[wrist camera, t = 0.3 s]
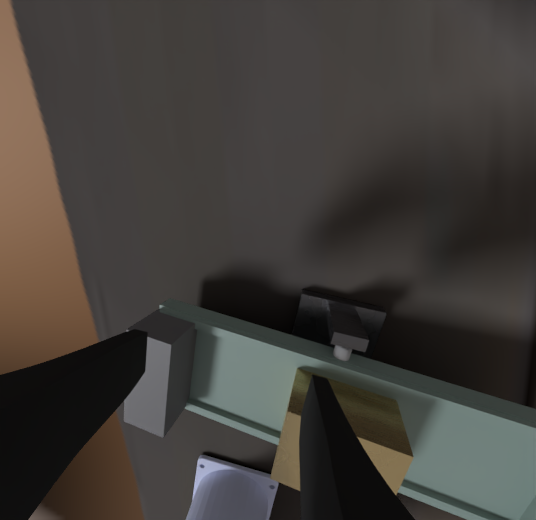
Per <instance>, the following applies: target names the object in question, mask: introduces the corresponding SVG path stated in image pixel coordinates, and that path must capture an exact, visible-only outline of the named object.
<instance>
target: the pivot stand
mask: <svg viewBox="0 0 536 520" xmlns="http://www.w3.org/2000/svg"><path fill="white" fill-rule="evenodd" d="M386 314H387V313H386V311H385V310H384V308H383V307H380V306H376V305H371V304H367V303H363V302H358V301H354V300H349V299H345V298H340V297H336V296H331V295H327V294H322V293H318V292H313V291H309V290H305V289H302V292H301V296H300V301H299V305H298V309H297V313H296V318H295V322H294V326H293V330H292V334H291V335H293V336H296V337H300V338H303V339H306V340H310V341H313V342H316V343H319V344H323V345H326V346H329V347H333V348H335V345H338V346H342V347H346V348H350V349H352V352H351V353H352V354H356V355H359V356H362V357H366V358H369V359H371V357H372V354H373V351H374V348H375V346H376V343H377V340H378V337H379V334H380V331H381V328H382V325H383V323H384V320H385V317H386Z"/></svg>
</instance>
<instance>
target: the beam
mask: <svg viewBox="0 0 536 520" xmlns="http://www.w3.org/2000/svg"><path fill="white" fill-rule="evenodd" d="M133 329H137V330H141V331H145V332H148V337H147V353H146V368H145V373H144V374H143V376H142V377H141V379H140V380H139V382H138V383H137V385H136V386H135V387H134V389H133V390H132V391H131V393H130V394H129V395H128V396H127V398H126V399H125V400H124V421H125V422H127V423H129V424H132V425H134V426H136V427H139V428H141V429H144V430H146V431H148V432H151V433H153V434H155V435H158V436H160V437H162V438H164V436H165V435H166V434H167V432H168V431H169V429H170V428H171V427H172V425H173V424H174V422H175V421H176V420H177V418H178V417H179V415H180V414H181V413H182V411H183V410H184V408H185V409H187V410H190V411H192V412H195V413H198V414H200V415H203V416H205V417H208V418H210V419H213V420H215V421H218V422H220V423H223V424H225V425H228V426H231V427H233V428H236V429H238V430H241V431H243V432H246V433H248V434H251V435H253V436H256V437H258V438H261V439H264V440H266V441H269V442H271V443H274V444H276V445H278V442H279V438H280V434H281V429H282V425H283V421H284V417H285V413H286V409H287V405H288V401H289V398H290V394H291V390H292V386H293V382H294V378H295V374H296V370H297V368H299V369H302V370H306V371H309V372H312V373H315V374H318V375H321V376H324V377H327V378H330V379H333V380H336V381H339V382H342V383H345V384H348V385H351V386H354V387H357V388H360V389H364V390H367V391H370V392H373V393H376V394H379V395H382V396H385V397H388V398H391V399H394V400H397V403H398V406H399V410H400V413H401V416H402V420H403V423H404V427H405V430H406V433H407V437H408V440H409V443H410V447H411V450H412V453H413V457H414V458H413V460H412V462H411V464H410V467H409V469H408V471H407V473H406V475H405V477H404V480H403V482H402V484H401V486H400V488H399V490H398V493H401V494H403V495H406V496H408V497H411V498H413V499H416V500H418V501H421V502H424V503H426V504H429V505H431V506H434V507H436V508H439V509H441V510H444V511H446V512H449V513H452V514H454V515H457V516H459V517H462V518H464V519H467V520H536V409H534V408H530V407H527V406H524V405H520V404H517V403H514V402H511V401H507V400H504V399H501V398H497V397H494V396H491V395H488V394H484V393H481V392H478V391H474V390H471V389H468V388H464V387H461V386H458V385H455V384H451V383H448V382H445V381H441V380H438V379H435V378H431V377H428V376H425V375H422V374H418V373H415V372H412V371H408V370H405V369H402V368H399V367H395V366H392V365H389V364H385V363H382V362H379V361H375V360H372V359H369V358H366V357H362V356H359V355H356V354H352V353H351V352H352V349H350V348H346V347H342V346H338V345H335V348H333V347H329V346H326V345H323V344H319V343H316V342H313V341H310V340H306V339H303V338H300V337H296V336H293V335H290V334H286V333H283V332H280V331H277V330H273V329H270V328H267V327H263V326H260V325H257V324H254V323H250V322H247V321H244V320H240V319H237V318H234V317H230V316H227V315H224V314H221V313H217V312H214V311H211V310H207V309H204V308H201V307H198V306H194V305H191V304H188V303H184V302H181V301H178V300H174V299H171V298H170V299H168V300H167V301H165V302H163V303H162V304H160V308H159V309H158V310H156V311H155V312H153V313H152V314H150V315H148V316H147V317H145V318H144V319H142V320H141V321H139V322H137V323H136V324H134V325H133V326H131V327H129V328H128V329H126V332H127V331H130V330H133Z"/></svg>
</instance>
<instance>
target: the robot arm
mask: <svg viewBox="0 0 536 520" xmlns="http://www.w3.org/2000/svg"><path fill="white" fill-rule="evenodd" d="M147 337H148V332H145V331H141V330H137V329H133V330H130V331H127V332H124V333H122V334H119V335H117V336H114V337H111V338H109V339H106V340H104V341H101V342H99V343H96V344H94V345H91V346H89V347H86V348H83V349H81V350H78V351H75V352H72V353H69V354H67V355H64V356H61V357H58V358H55V359H53V360H50V361H46V362H44V363H40V364H37V365H34V366H31V367H27V368H24V369H20V370H17V371H13V372H10V373H6V374H2V375H0V520H28V519H29V518H30V516H31V515H32V513H33V512H34V511H35V509H36V508H37V507H38V505H39V504H40V503H41V501H42V500H43V498H44V497H45V496H46V494H47V493H48V492H49V490H50V489H51V487H52V486H53V485H54V483H55V482H56V481H57V479H58V478H59V477H60V475H61V474H62V473H63V472H64V470H65V469H66V468H67V466H68V465H69V464H70V462H71V461H72V460H73V458H74V457H75V456H76V455H77V453H78V452H79V451H80V450H81V449H82V447H83V446H84V445H85V444H86V443H87V442H88V441H89V439H90V438H91V437H92V436H93V435H94V434H95V433H96V432H97V430H98V429H99V428H100V427H101V426H102V425H103V424H104V423H105V421H106V420H107V419H108V418H109V417H110V416H111V415H112V414H113V412H114V411H115V410H116V409H117V408H118V407H119V406H120V404H121V403H122V402H123V401H124V400H125V399H126V398H127V396H128V395H129V394H130V393H131V391H132V390H133V389H134V387H135V386H136V385H137V383H138V382H139V380H140V379H141V377H142V376H143V374H144V373H145V368H146V353H147ZM299 461H300V498H301V520H415V519H414V518H413V517H412V515H411V514H410V513H409V512H408V510H407V509H406V508H405V507H404V505H403V504H402V503H401V501H400V500H399V499H398V498H397V496H396V495H395V494H394V492H393V491H392V490H391V488H390V487H389V485H388V484H387V483H386V481H385V480H384V478H383V477H382V475H381V474H380V473H379V471H378V470H377V468H376V467H375V465H374V464H373V462H372V461H371V459H370V457H369V456H368V454H367V453H366V451H365V449H364V448H363V446H362V444H361V443H360V441H359V439H358V438H357V436H356V434H355V432H354V431H353V429H352V427H351V425H350V423H349V421H348V420H347V418H346V416H345V414H344V412H343V410H342V408H341V406H340V404H339V402H338V400H337V398H336V396H335V394H334V392H333V389H332V387H331V385H330V383H329V381H328V379H327V378H323V377H319V376H316V375H312V377H311V380H310V384H309V388H308V391H307V395H306V398H305V402H304V406H303V409H302V413H301V422H300V435H299ZM270 476H271V474H267V473H264V472H261V471H257V470H254V469H250V468H247V467H244V466H240V465H237V464H233V463H230V462H227V461H223V460H220V459H216V458H213V457H210V456H206V455H201V456H200V457H199V459H198V463H197V471H196V478H195V485H194V492H193V499H192V504H191V507H190V509H189V512H188V515H187V518H186V520H269V517H270V514H271V510H272V506H273V503H274V499H275V495H276V492H277V488H278V484H279V482H277V481H275V480H272V479H270Z"/></svg>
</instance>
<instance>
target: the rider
mask: <svg viewBox="0 0 536 520" xmlns="http://www.w3.org/2000/svg"><path fill="white" fill-rule="evenodd" d="M312 375H316V376H319V377H323V378H327V377H324V376H321V375H318V374H315V373H312V372H309V371H306V370H302V369H299V368H297V370H296V374H295V378H294V382H293V386H292V390H291V394H290V398H289V401H288V405H287V409H286V413H285V417H284V421H283V425H282V429H281V434H280V438H279V442H278V446H277V451H276V455H275V459H274V463H273V468H272V472H271V476H270V479H272V480H275V481H277V482H280V483H282V484H284V485H287V486H289V487H291V488H294V489H296V490H298V491H300V461H299V435H300V422H301V413H302V409H303V406H304V402H305V398H306V395H307V391H308V388H309V384H310V380H311V377H312ZM327 379H328V381H329V383H330V385H331V387H332V389H333V392H334V394H335V396H336V398H337V400H338V402H339V404H340V406H341V408H342V410H343V412H344V414H345V416H346V418H347V420H348V421H349V423H350V425H351V427H352V429H353V431H354V432H355V434H356V436H357V438H358V439H359V441H360V443H361V444H362V446H363V448H364V449H365V451H366V453H367V454H368V456H369V457H370V459H371V461H372V462H373V464H374V465H375V467H376V468H377V470H378V471H379V473H380V474H381V475H382V477H383V478H384V480H385V481H386V483H387V484H388V485H389V487H390V488H391V490H392V491H393V492H394V494H395V495H397V492H398V490H399V488H400V486H401V484H402V482H403V480H404V477H405V475H406V473H407V471H408V469H409V467H410V464H411V462H412V460H413V458H414V457H413V453H412V450H411V447H410V443H409V440H408V437H407V433H406V430H405V427H404V423H403V420H402V416H401V413H400V410H399V406H398V403H397V400H394V399H391V398H388V397H385V396H382V395H379V394H376V393H373V392H370V391H367V390H364V389H360V388H357V387H354V386H351V385H348V384H345V383H342V382H339V381H336V380H333V379H330V378H327Z"/></svg>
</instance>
